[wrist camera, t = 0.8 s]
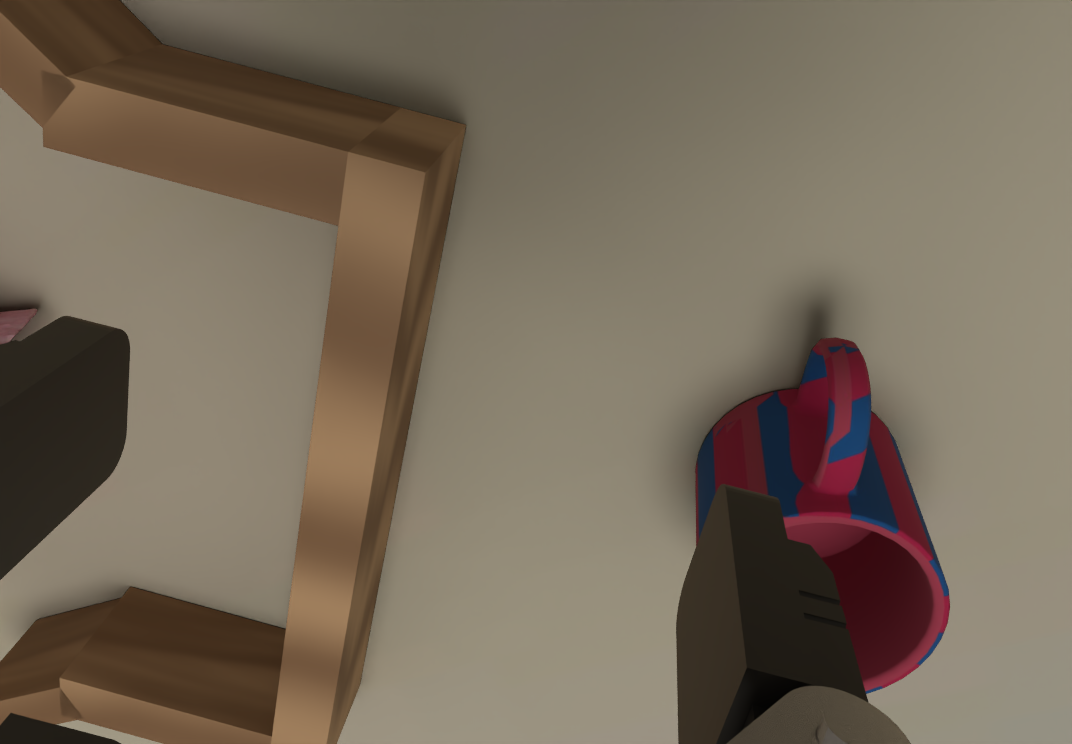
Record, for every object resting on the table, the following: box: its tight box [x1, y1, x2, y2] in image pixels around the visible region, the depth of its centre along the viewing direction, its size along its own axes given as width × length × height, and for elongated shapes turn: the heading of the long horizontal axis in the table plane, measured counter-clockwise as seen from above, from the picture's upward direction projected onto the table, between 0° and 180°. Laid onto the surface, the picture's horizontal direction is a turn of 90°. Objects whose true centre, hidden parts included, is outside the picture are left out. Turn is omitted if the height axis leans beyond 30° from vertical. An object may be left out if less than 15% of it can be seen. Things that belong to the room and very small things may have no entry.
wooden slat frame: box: [0, 0, 466, 744], centre depth 32 cm, size 29×14×5 cm, turn 167°
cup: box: [696, 338, 950, 694], centre depth 28 cm, size 7×10×7 cm
